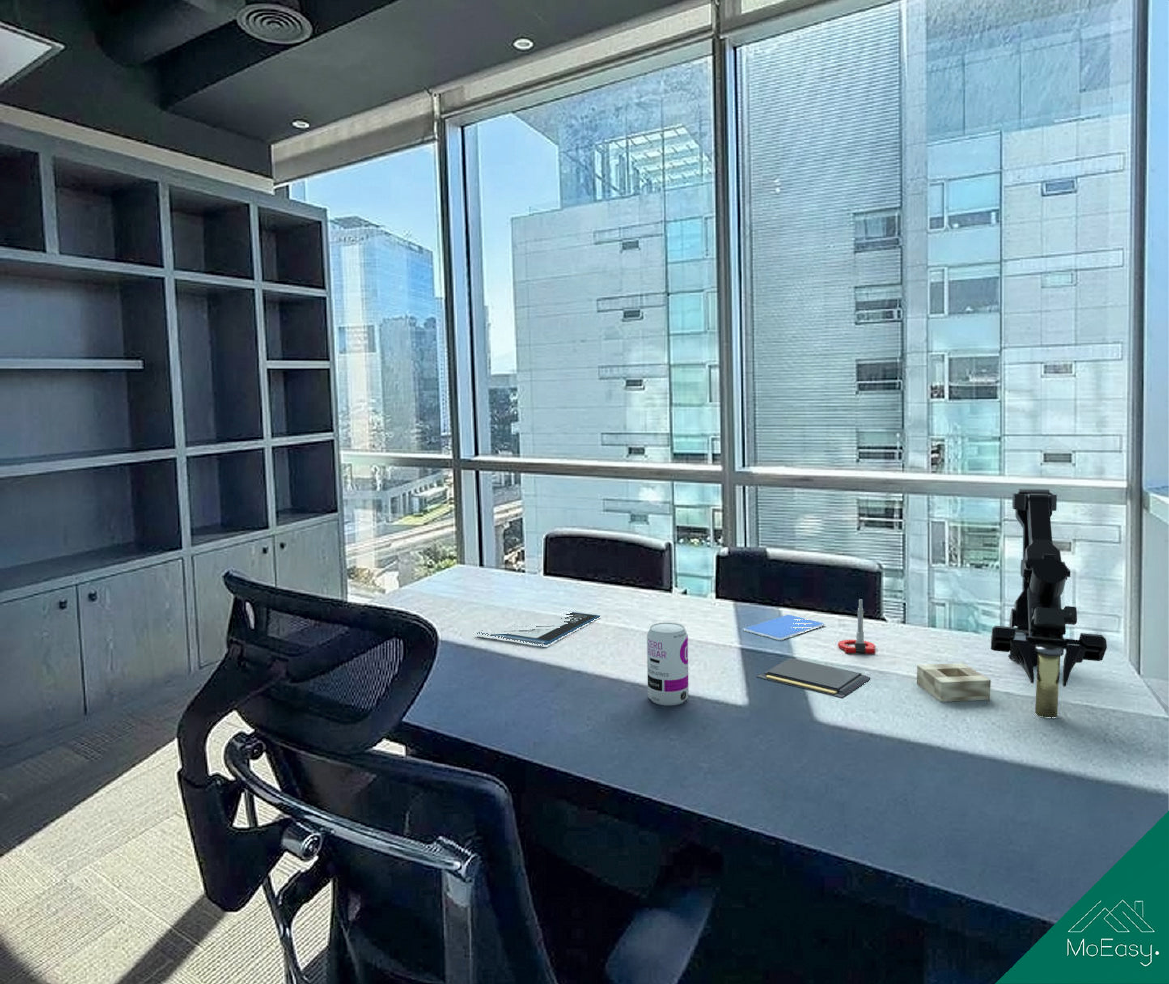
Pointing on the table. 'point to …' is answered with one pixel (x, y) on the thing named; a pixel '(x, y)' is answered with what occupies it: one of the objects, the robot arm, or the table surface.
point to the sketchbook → (549, 630)
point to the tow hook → (858, 638)
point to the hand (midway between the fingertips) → (1048, 683)
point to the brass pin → (1047, 679)
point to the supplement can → (667, 663)
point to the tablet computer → (782, 627)
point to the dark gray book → (815, 677)
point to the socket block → (953, 682)
